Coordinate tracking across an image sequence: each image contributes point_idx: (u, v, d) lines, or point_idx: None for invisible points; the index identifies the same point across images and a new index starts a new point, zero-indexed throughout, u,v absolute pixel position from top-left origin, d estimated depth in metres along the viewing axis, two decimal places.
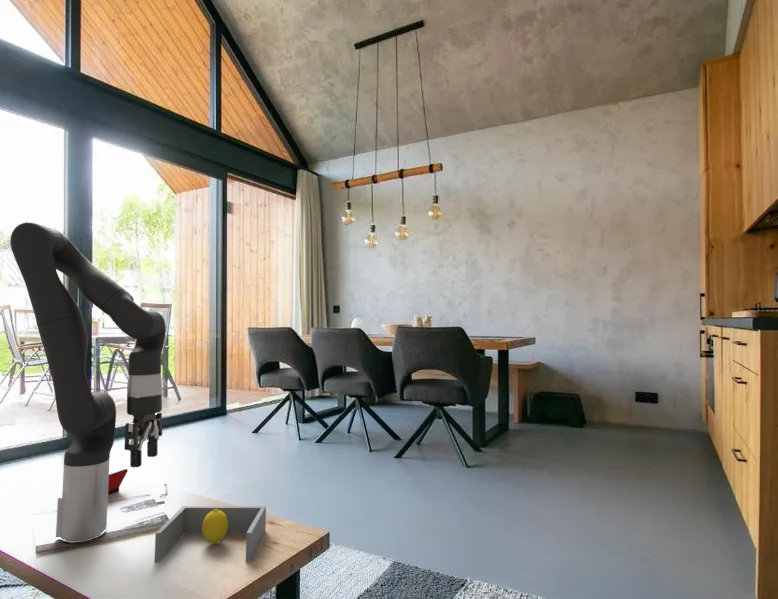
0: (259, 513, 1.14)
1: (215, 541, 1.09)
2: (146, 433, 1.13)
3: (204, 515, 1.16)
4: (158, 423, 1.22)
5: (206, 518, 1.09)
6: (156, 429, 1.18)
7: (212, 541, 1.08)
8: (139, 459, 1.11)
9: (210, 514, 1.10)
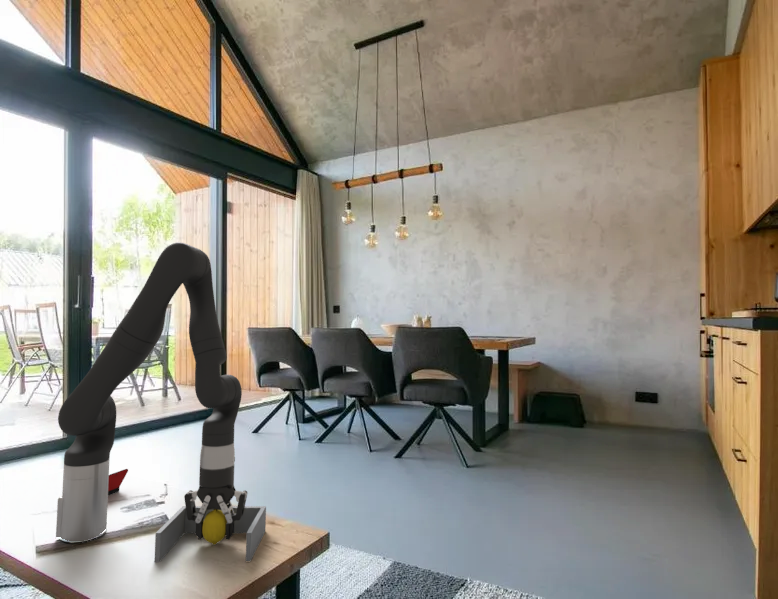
0: (259, 513, 1.14)
1: (215, 541, 1.09)
2: None
3: None
4: (194, 501, 1.11)
5: (206, 518, 1.09)
6: None
7: (212, 541, 1.08)
8: None
9: (210, 514, 1.10)
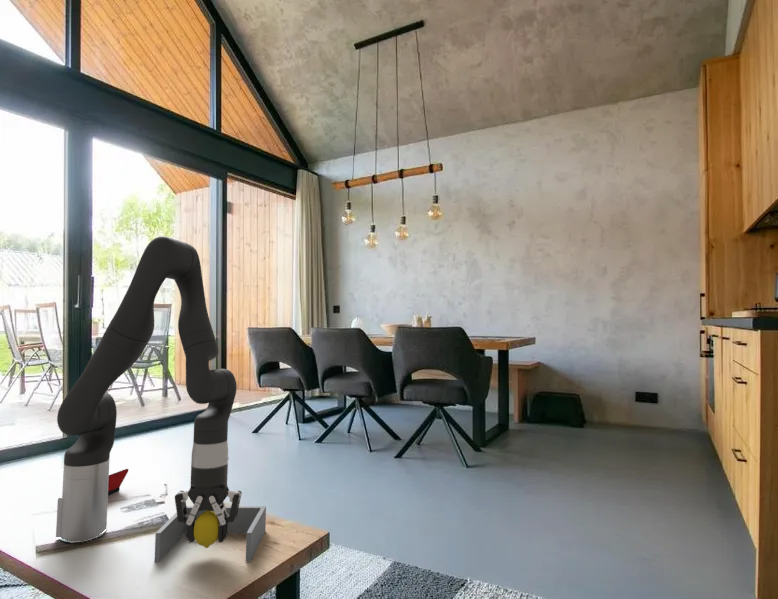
0: (259, 513, 1.14)
1: (207, 544, 1.03)
2: None
3: None
4: (185, 502, 1.06)
5: (198, 520, 1.03)
6: None
7: (204, 544, 1.03)
8: None
9: (202, 515, 1.04)
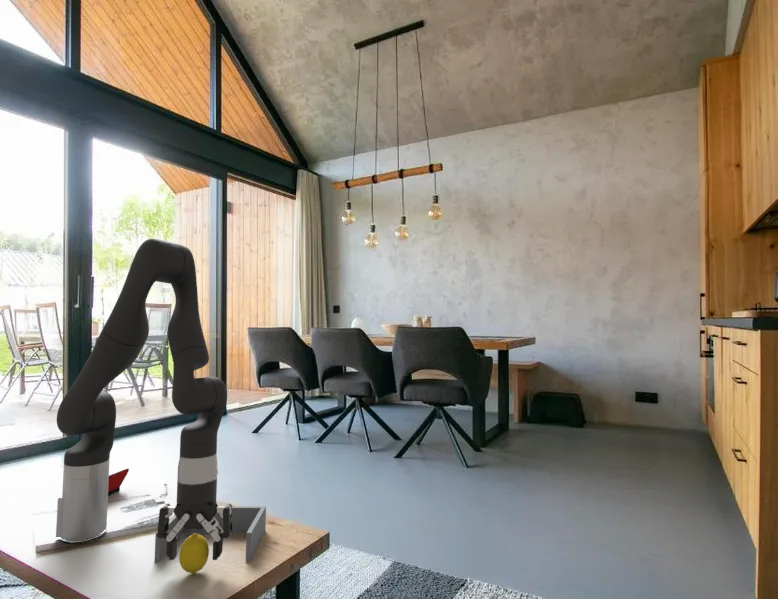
0: (259, 513, 1.14)
1: (194, 570, 0.96)
2: None
3: None
4: (169, 517, 0.98)
5: (184, 544, 0.96)
6: None
7: (190, 570, 0.95)
8: None
9: (188, 539, 0.97)
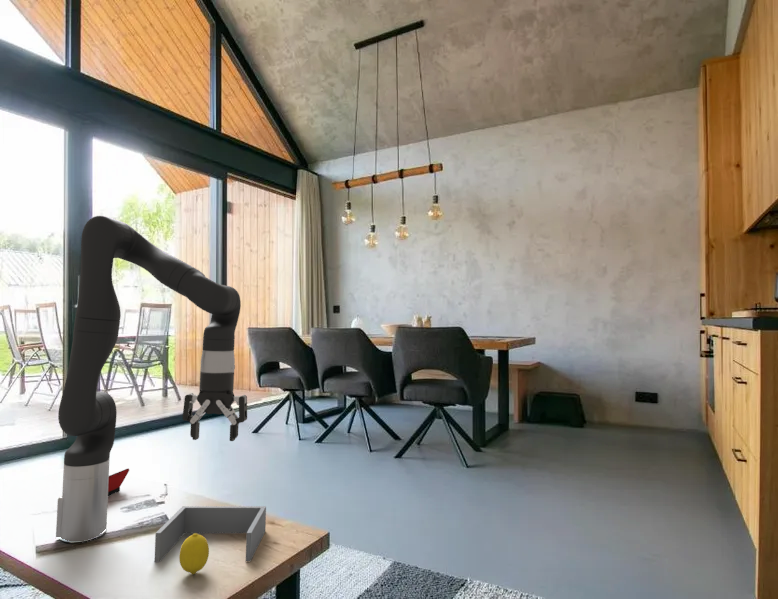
0: (259, 513, 1.14)
1: (194, 570, 0.96)
2: None
3: (204, 515, 1.16)
4: (192, 404, 1.14)
5: (184, 544, 0.96)
6: None
7: (190, 571, 0.95)
8: None
9: (188, 540, 0.97)
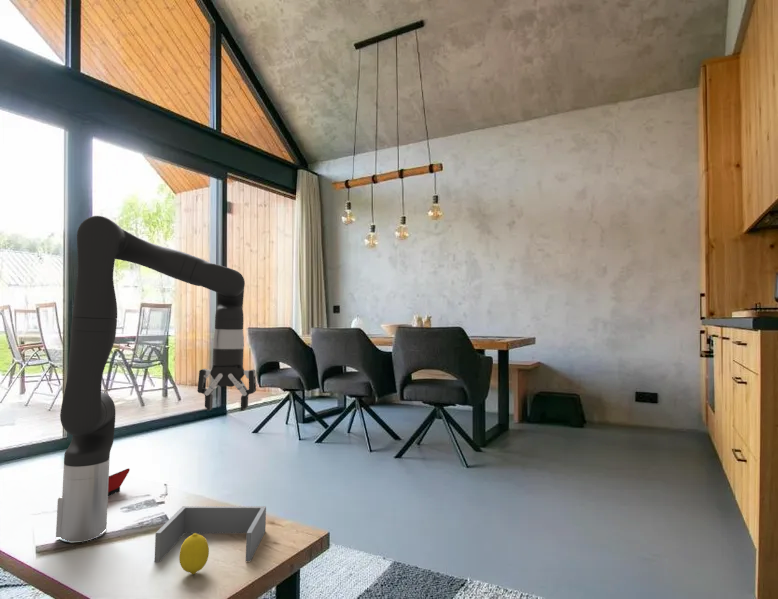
0: (259, 513, 1.14)
1: (194, 570, 0.96)
2: None
3: (204, 515, 1.16)
4: None
5: (184, 544, 0.96)
6: None
7: (190, 570, 0.95)
8: None
9: (188, 540, 0.97)
